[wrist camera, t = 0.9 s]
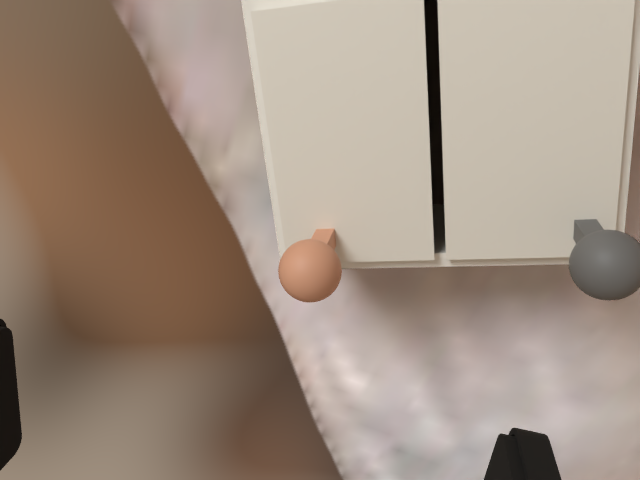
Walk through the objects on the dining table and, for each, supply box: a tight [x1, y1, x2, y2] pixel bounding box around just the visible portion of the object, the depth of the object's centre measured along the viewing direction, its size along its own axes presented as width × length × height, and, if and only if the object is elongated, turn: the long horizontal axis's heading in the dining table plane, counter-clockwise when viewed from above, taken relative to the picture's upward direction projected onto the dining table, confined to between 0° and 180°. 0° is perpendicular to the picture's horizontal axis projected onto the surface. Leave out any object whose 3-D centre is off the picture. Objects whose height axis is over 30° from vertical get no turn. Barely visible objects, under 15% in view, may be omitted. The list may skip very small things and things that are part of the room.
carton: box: [241, 0, 640, 269], centre depth 32 cm, size 18×15×9 cm
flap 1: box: [251, 0, 435, 302], centre depth 26 cm, size 8×13×6 cm, turn 6°
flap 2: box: [437, 0, 640, 300], centre depth 24 cm, size 8×13×6 cm, turn 6°
